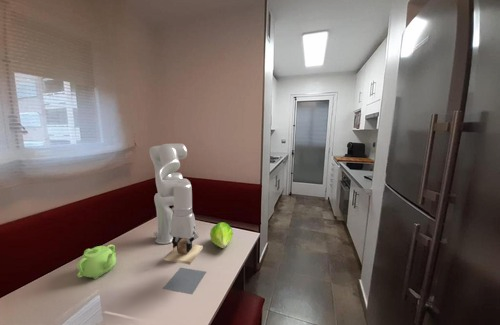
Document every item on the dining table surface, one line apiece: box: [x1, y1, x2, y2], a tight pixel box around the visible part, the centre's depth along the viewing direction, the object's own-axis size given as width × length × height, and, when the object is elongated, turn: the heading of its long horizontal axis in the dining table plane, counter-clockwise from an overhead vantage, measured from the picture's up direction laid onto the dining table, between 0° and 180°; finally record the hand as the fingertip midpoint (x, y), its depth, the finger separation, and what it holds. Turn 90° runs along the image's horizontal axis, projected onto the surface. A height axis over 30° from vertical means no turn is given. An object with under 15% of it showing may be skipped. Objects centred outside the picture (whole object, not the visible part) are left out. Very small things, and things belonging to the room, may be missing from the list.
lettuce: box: [209, 221, 234, 249], centre depth 118 cm, size 14×20×12 cm
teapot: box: [76, 244, 117, 280], centre depth 95 cm, size 16×14×13 cm
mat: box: [162, 267, 207, 295], centre depth 90 cm, size 14×14×1 cm
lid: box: [163, 238, 204, 266], centre depth 88 cm, size 12×12×6 cm
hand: (184, 249), depth 88 cm, fingers closed on lid, 4 cm apart
